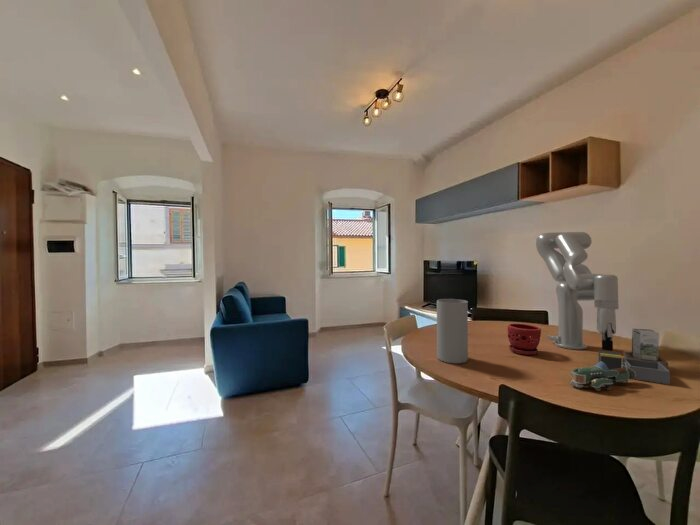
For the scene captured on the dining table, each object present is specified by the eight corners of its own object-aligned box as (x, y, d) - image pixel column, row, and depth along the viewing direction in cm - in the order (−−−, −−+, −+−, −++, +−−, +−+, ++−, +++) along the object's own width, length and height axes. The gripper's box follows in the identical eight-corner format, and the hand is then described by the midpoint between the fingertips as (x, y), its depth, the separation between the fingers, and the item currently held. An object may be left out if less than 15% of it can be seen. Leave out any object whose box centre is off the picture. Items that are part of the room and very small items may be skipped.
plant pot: (534, 358, 129) (535, 330, 128) (502, 351, 139) (502, 325, 138) (544, 352, 137) (545, 326, 137) (514, 346, 147) (514, 321, 147)
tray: (629, 378, 107) (629, 366, 107) (622, 369, 116) (622, 357, 116) (669, 384, 102) (670, 371, 102) (659, 374, 111) (659, 362, 110)
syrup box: (649, 365, 120) (649, 328, 120) (658, 370, 115) (659, 332, 114) (631, 363, 122) (631, 327, 122) (639, 368, 116) (640, 331, 116)
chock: (600, 369, 116) (601, 353, 116) (598, 365, 121) (598, 350, 120) (621, 372, 113) (621, 356, 113) (618, 368, 117) (618, 352, 117)
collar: (630, 368, 117) (630, 358, 117) (623, 360, 125) (623, 350, 125) (668, 373, 111) (668, 362, 111) (658, 364, 120) (658, 354, 120)
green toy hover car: (560, 382, 105) (560, 359, 105) (619, 376, 109) (620, 354, 109) (587, 395, 95) (587, 369, 95) (650, 388, 100) (650, 363, 100)
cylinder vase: (431, 359, 129) (431, 301, 128) (444, 352, 138) (444, 298, 138) (460, 366, 120) (460, 304, 120) (472, 358, 130) (472, 300, 129)
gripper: (591, 302, 132) (592, 344, 131) (597, 306, 119) (599, 353, 119) (614, 303, 128) (615, 347, 127) (623, 307, 115) (624, 355, 115)
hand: (607, 349), depth 123 cm, fingers closed
